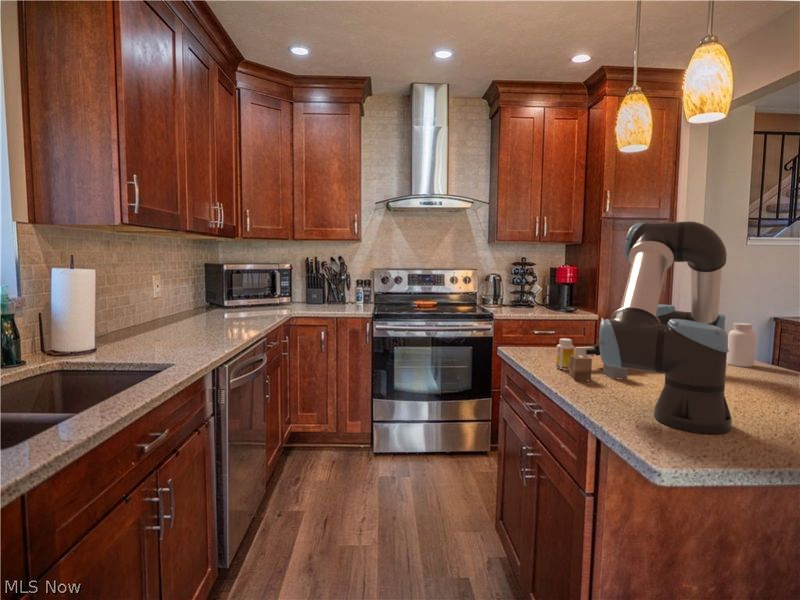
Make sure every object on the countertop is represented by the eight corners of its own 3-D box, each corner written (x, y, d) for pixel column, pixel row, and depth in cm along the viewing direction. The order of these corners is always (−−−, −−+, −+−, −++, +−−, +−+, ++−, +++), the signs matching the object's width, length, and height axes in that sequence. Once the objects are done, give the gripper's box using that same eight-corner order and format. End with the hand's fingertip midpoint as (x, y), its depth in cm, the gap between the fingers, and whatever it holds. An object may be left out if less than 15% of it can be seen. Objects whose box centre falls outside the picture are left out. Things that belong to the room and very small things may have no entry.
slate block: (627, 379, 144) (628, 356, 144) (613, 379, 143) (614, 357, 143) (616, 375, 149) (617, 353, 148) (602, 375, 148) (604, 353, 147)
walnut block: (590, 381, 141) (592, 358, 140) (574, 380, 141) (575, 357, 141) (585, 377, 146) (586, 354, 145) (569, 376, 146) (570, 354, 146)
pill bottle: (731, 366, 163) (734, 324, 161) (722, 361, 170) (725, 321, 169) (757, 368, 160) (761, 325, 159) (747, 363, 168) (750, 322, 167)
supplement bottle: (576, 369, 156) (577, 339, 155) (567, 371, 153) (568, 341, 152) (561, 366, 160) (563, 337, 159) (552, 368, 157) (553, 338, 156)
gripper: (649, 364, 156) (587, 366, 151) (623, 355, 168) (565, 358, 164) (650, 342, 155) (588, 344, 150) (624, 335, 168) (566, 337, 163)
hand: (576, 351), depth 157 cm, fingers closed
